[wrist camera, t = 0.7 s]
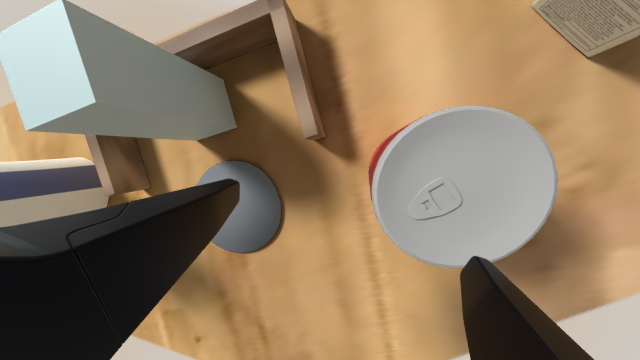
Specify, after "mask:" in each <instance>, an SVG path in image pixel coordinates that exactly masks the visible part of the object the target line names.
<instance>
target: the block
mask: <svg viewBox="0 0 640 360" xmlns="http://www.w3.org/2000/svg"><path fill="white" fill-rule="evenodd" d="M0 59H1V62H2V65H3V68H4V71H5V73H6V76H7V79H8V82H9V85H10V87H11V90H12V93H13V96H14V99H15V101H16V104H17V107H18V110H19V113H20V115H21V118H22V121H23V124H24V127H25V129H26V131H38V132H55V133H72V134H89V135H106V136H123V137H141V138H158V139H175V140H192V141H197V140H201V139H204V138H207V137H210V136H213V135H216V134H219V133H222V132H225V131H228V130H231V129H234V128H237V125H236V122H235V118H234V115H233V111H232V108H231V105H230V101H229V98H228V94H227V91H226V87H225V84H224V80H223V79H221V78H219V77H217V76H215V75H213V74H211V73H209V72H207V71H205V70H204V69H202V68H200V67H198V66H196V65H194V64H192V63H190V62H188V61H186V60H184V59H182V58H180V57H178V56H176V55H174V54H172V53H170V52H168V51H166V50H164V49H162V48H160V47H158V46H156V45H154V44H152V43H150V42H148V41H146V40H144V39H142V38H140V37H138V36H136V35H134V34H132V33H130V32H128V31H126V30H124V29H122V28H120V27H118V26H116V25H114V24H112V23H110V22H108V21H106V20H104V19H102V18H100V17H98V16H96V15H94V14H92V13H90V12H88V11H86V10H84V9H82V8H80V7H79V6H76V5H75V4H73V3H71V2H69V1H66V0H56V1H55V2H53V3H51V4H49V5H48V6H46V7H44V8H42V9H40V10H39V11H37V12H35V13H33V14H31V15H30V16H28V17H26V18H24V19H23V20H21V21H19V22H17V23H15V24H14V25H12V26H10V27H8V28H7V29H5V30H3V31H1V32H0Z"/></svg>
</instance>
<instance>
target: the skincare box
mask: <svg viewBox="0 0 640 360" xmlns="http://www.w3.org/2000/svg"><path fill="white" fill-rule="evenodd" d="M532 7H533V8H534V9H535V10H536V11H537V12H538V13H539V14H540V15H541V16H542V17H543V18H544V19H545V20H546V21H547V22H548V23H549V24H550V25H551V26H553V27H554V28H555V29H556V30H557V31H558V32H559V33H561V34H562V35H563V36H564V37H565V38H566V39H567V40H568V41H569V42H570V43H571V44H572V45H574V46H575V47H576V48H577V49H579V50H580V51H581V52H582V53H583V54H584V55H586V56H587V57H591V56H594V55H596V54H599V53H601V52H603V51H606V50H608V49H610V48H613V47H615V46H617V45H620V44H622V43H624V42H627V41H629V40H631V39H634V38H636V37H638V36H640V0H535V1H534V2H533V4H532Z"/></svg>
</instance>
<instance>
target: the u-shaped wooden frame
mask: <svg viewBox="0 0 640 360" xmlns="http://www.w3.org/2000/svg"><path fill="white" fill-rule="evenodd" d="M275 41H278V44H279V48H280V52H281V55H282V59H283V63H284V66H285V70H286V74H287V78H288V81H289V85H290V89H291V93H292V96H293V100H294V104H295V107H296V111H297V115H298V119H299V122H300V126H301V130H302V134H303V137H304V138H305V139H310V140H317V139H320V138H324V137H326V136H325V132H324V128H323V124H322V120H321V116H320V113H319V109H318V105H317V101H316V97H315V93H314V90H313V86H312V82H311V78H310V74H309V70H308V67H307V63H306V59H305V55H304V51H303V47H302V44H301V40H300V36H299V32H298V28H297V24H296V20H295V18H294V16H293V14H292V12H291V10H290V8H289V7H288V5H287V3H286V1H285V0H257V1H255V2H253V3H250V4H248V5H246V6H244V7H242V8H239V9H237V10H235V11H233V12H230V13H228V14H226V15H224V16H221V17H219V18H217V19H215V20H212V21H210V22H208V23H206V24H204V25H201V26H199V27H197V28H195V29H192V30H190V31H188V32H186V33H183V34H181V35H179V36H177V37H174V38H172V39H170V40H168V41H166V42H163V43H161V44H159V45H157V46H158V47H160V48H162V49H164V50H166V51H168V52H170V53H172V54H174V55H176V56H178V57H180V58H182V59H184V60H186V61H188V62H190V63H192V64H194V65H196V66H198V67H200V68H202V69H204V70H205V69H208V68H210V67H213V66H215V65H218V64H220V63H223V62H225V61H228V60H230V59H233V58H235V57H238V56H240V55H243V54H245V53H248V52H250V51H253V50H255V49H258V48H260V47H263V46H265V45H268V44H270V43H273V42H275ZM85 137H86V140H87V143H88V146H89V149H90V152H91V155H92V158H93V160H94V163H95V166H96V169H97V172H98V175H99V178H100V181H101V184H102V187H103V190H104V193H105V196H111V195H117V194H122V193H128V192H133V191H139V190H144V189H147V188H151V186H150V183H149V180H148V177H147V174H146V171H145V167H144V164H143V161H142V158H141V155H140V152H139V149H138V146H137V143H136V140H135V137H123V136H106V135H89V134H85Z"/></svg>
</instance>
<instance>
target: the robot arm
mask: <svg viewBox="0 0 640 360" xmlns="http://www.w3.org/2000/svg"><path fill="white" fill-rule="evenodd" d="M239 200H240V183H239V181H237V180H234V179H231V178H228V179H224V180H220V181H215V182H211V183H207V184H203V185H199V186H194V187H190V188H186V189H182V190H178V191H173V192H169V193H165V194H161V195H157V196H152V197H148V198H144V199H140V200H136V201H132V202H130V203H129V202H127V203H123V204H119V205H114V206H110V207H105V208H101V209H97V210H92V211H87V212H82V213H77V214H72V215H66V216H61V217H56V218H50V219H45V220H40V221H34V222H29V223H24V224H19V225H13V226H7V227H0V360H110V359H111V358H112V356H113V355H114V354H115V353H116V352H117V351H118V349H119V348H120V347H121V346H122V344H123V343H124V342H125V341H126V340H127V339H128V337H129V336H130V335H131V334H132V333H133V332H134V330H135V329H136V328H137V327H138V326H139V325H140V323H141V322H142V321H143V320H144V319H145V318H146V316H147V315H148V314H149V313H150V312H151V311H152V309H153V308H154V307H155V306H156V305H157V304H158V302H159V301H160V300H161V299H162V298H163V297H164V295H165V294H166V293H167V292H168V291H169V289H170V288H171V287H172V286H173V285H174V284H175V282H176V281H177V280H178V279H179V278H180V277H181V275H182V274H183V273H184V272H185V271H186V270H187V268H188V267H189V266H190V265H191V264H192V263H193V261H194V260H195V259H196V258H197V257H198V256H199V254H200V253H201V252H202V251H203V250H204V248H205V247H206V246H207V245H208V244H209V243H210V241H211V240H212V239H213V238H214V237H215V236H216V234H217V233H218V232H219V230H220V229H221V228H222V226H223V225H224V223H225V222H226V220H227V219H228V217H229V216H230V214H231V213H232V212H233V210H234V209H235V207H236V206H237V204H238V202H239ZM460 282H461V296H462V310H463V320H464V326H465V332H466V337H467V342H468V348H469V353H470V358H471V360H594V359H593V358H592V357H591V356H590V355H588V353H586V352H585V351H584V350H583V349H582V348H581V347H580V346H579V345H578V344H577V343H576V342H575V341H574V340H572V339H571V337H569V336H568V335H567V334H566V333H565V332H564V331H563V330H562V329H561V328H560V327H559V326H558V325H557V324H556V323H555V322H554V321H552V320H551V319H550V318H549V317H548V316H547V315H546V314H545V313H544V312H543V311H542V310H541V309H540V308H539V307H538V306H537V305H535V304H534V303H533V302H532V301H531V300H530V299H529V298H528V297H527V296H526V295H525V294H524V293H523V292H522V291H521V290H520V289H519V288H517V287H516V286H515V285H514V284H513V283H512V282H511V281H510V280H509V279H508V278H507V277H506V276H505V275H504V274H503V273H502V272H500V271H499V270H498V269H497V268H496V267H495V266H494V265H493V264H492V263H491V262H490V261H489V260H487V259H485V258H482V257H479V256H472V257H471V258H470V260H469V261H468V262H467V264H466V265H465V266H464V268H463V269H462V271H461V274H460Z"/></svg>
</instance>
